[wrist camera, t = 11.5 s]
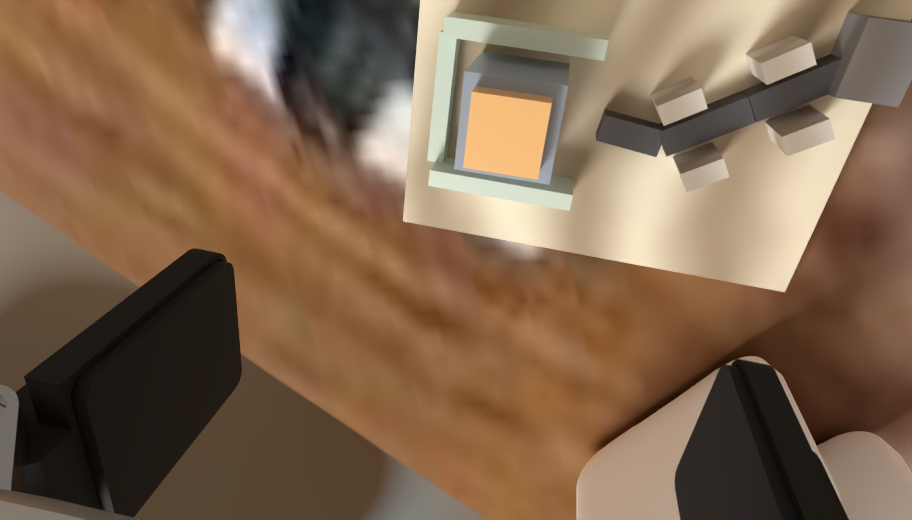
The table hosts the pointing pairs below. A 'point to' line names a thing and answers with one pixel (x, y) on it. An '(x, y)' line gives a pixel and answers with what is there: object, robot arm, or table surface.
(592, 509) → the cable organizer
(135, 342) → the robot arm
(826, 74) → the board
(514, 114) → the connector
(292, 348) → the table surface
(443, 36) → the bracket
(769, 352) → the table surface
